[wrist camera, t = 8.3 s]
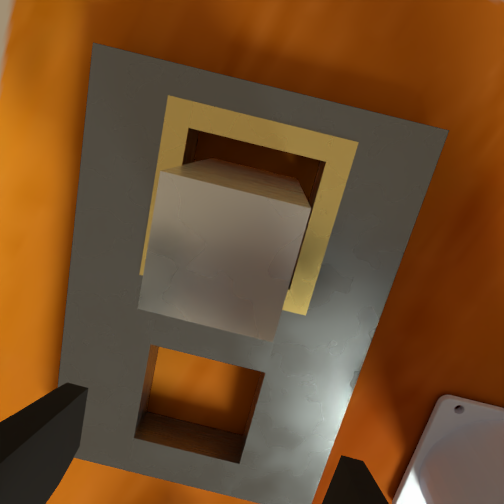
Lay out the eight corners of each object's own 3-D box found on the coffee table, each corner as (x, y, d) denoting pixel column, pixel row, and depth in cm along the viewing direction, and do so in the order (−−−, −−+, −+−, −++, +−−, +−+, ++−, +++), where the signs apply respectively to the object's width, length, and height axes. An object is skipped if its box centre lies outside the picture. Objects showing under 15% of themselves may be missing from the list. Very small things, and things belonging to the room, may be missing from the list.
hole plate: (429, 131, 17) (450, 130, 14) (304, 482, 22) (307, 517, 20) (114, 53, 17) (91, 41, 14) (70, 425, 22) (49, 454, 20)
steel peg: (297, 178, 18) (311, 208, 10) (275, 259, 19) (272, 342, 11) (212, 157, 18) (160, 170, 10) (195, 239, 19) (137, 308, 11)
